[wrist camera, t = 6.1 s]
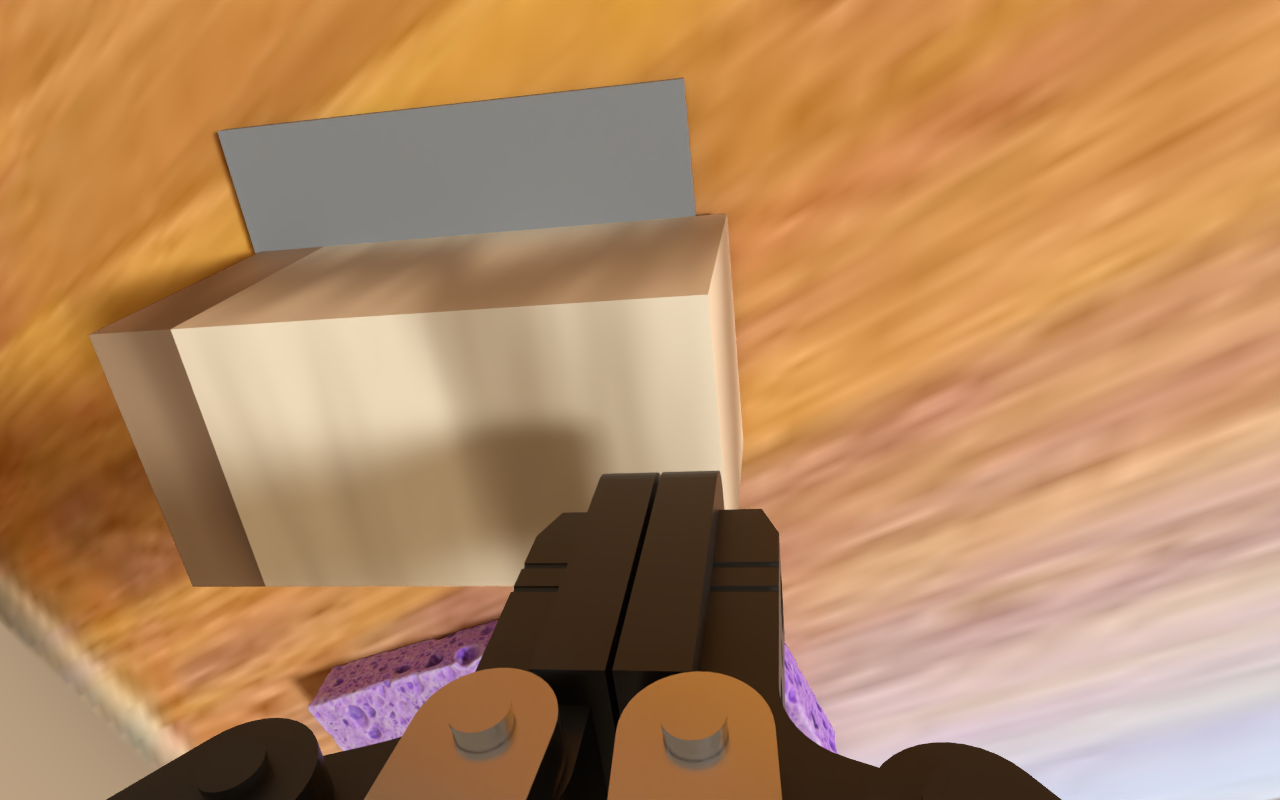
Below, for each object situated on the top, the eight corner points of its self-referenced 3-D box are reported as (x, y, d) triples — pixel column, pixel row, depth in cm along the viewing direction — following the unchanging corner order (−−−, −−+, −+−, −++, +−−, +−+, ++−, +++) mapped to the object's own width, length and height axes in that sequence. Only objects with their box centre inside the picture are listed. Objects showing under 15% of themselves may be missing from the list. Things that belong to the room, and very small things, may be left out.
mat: (684, 77, 15) (682, 79, 15) (723, 530, 20) (722, 537, 19) (225, 129, 17) (217, 131, 17) (351, 535, 21) (345, 542, 21)
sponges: (336, 656, 24) (303, 706, 22) (742, 532, 20) (739, 581, 18) (458, 820, 26) (437, 875, 25) (843, 736, 22) (849, 796, 21)
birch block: (708, 294, 12) (88, 334, 13) (731, 585, 14) (192, 586, 15) (727, 213, 16) (260, 251, 18) (743, 442, 18) (323, 455, 20)
